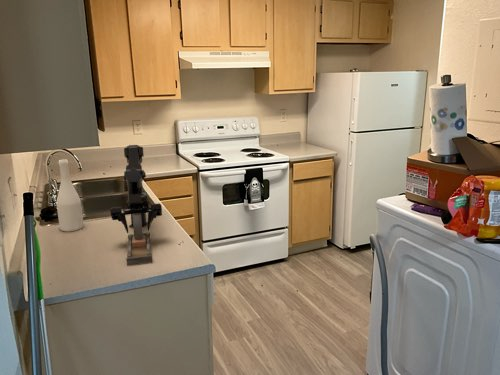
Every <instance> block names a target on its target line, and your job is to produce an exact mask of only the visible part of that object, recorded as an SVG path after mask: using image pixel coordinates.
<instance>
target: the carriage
mask: <svg viewBox="0 0 500 375" xmlns="http://www.w3.org/2000/svg"><path fill="white" fill-rule="evenodd" d="M132 218H133V227H132V228H133V234H134V236H132V246H133V248H135V247H144V246H146V238H145V235H143V233H144V230H143V228H142V219H141V213H134V214H132Z"/></svg>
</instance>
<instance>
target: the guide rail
mask: <svg viewBox="0 0 500 375" xmlns="http://www.w3.org/2000/svg"><path fill="white" fill-rule="evenodd" d="M143 235H145V238H146V246H144V247H135V248H133V246H132V236H134V233H133V234H132V233H131V234H130V233H128V235H127V254H126V258H125V259H126V266H136V265H142V264H150V263H153V258H152V257H153V256H152V244H151V243H152V242H151V232H150V231H147V232H143Z"/></svg>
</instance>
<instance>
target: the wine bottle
mask: <svg viewBox="0 0 500 375" xmlns="http://www.w3.org/2000/svg"><path fill="white" fill-rule="evenodd" d="M58 166H59V172H60V174H59V175H60V184H59V185H60V186H59V189H58V194H57V198H56V209H57V217H58V218H57V219H58V224H59V229H60V230H61V231H62V232H74V231H79V230H81V229H82V228H84V225H85V224H84V216H83V209H82V200H81V198H80V196H79V194H78V191H77V190H76V188H75V187H74V185H73V182H72V180H71V176H70V170H69V169H70V168H69V161H68V159H65V158H64V159H63V158H62V159H59V160H58Z"/></svg>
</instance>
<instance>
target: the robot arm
mask: <svg viewBox="0 0 500 375" xmlns="http://www.w3.org/2000/svg"><path fill="white" fill-rule="evenodd" d="M123 155H124V158H126V163H127V165H126V166H125V170H124V171H123V178H124V181H126V186H127V197H128V200H127V199H126V206H127V209H124V208H122V206H114V207H111V208H110V216H111V220H112V221H118V222H121V224H122V225H123V227H124V230H125V232H126V233H127V234H129V228H133V218H132V214H134V213H141V219H142V229H143V228H144V227H146V226H147V232H150V230H151V226H152V222H153V221H154V219H157V217H161V216H162V215H163V211H162V209H163V207H162V204H161V203H159V202H158V203H150V201H148V193H147V191H144V188H143V181H144V179H145V178H146V177H147V176H146V175H147V174H146V172H145V170H144V169H143V167H142V165H141V164H142V163H143V157H145V156H144V147H143V146H140V145H138V144H128V145H127V146H125V147H124V148H123ZM127 215H130V222H131V223H130V225H128V221H127V218H126V217H127Z"/></svg>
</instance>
